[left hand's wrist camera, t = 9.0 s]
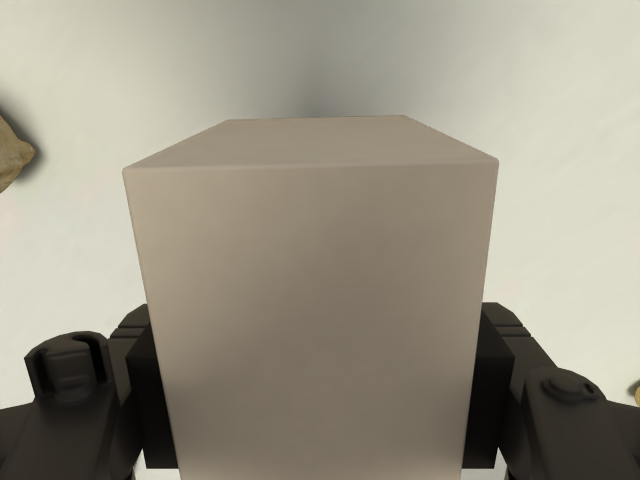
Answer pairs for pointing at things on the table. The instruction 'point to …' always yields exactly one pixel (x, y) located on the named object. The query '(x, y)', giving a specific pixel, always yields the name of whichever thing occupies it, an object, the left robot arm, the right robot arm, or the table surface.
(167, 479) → the table surface
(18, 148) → the sculpture
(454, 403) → the beam
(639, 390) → the toy gun
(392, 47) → the table surface
